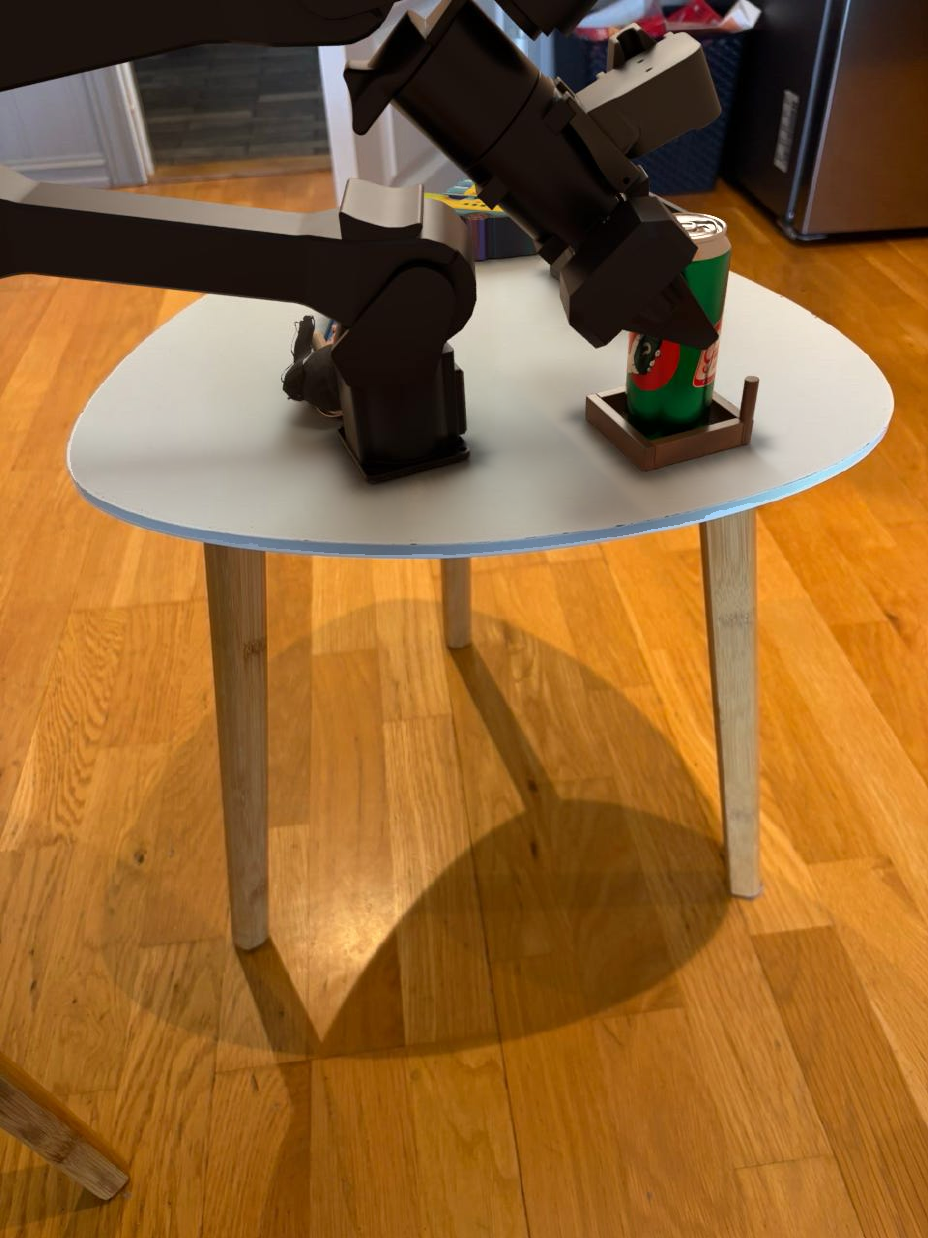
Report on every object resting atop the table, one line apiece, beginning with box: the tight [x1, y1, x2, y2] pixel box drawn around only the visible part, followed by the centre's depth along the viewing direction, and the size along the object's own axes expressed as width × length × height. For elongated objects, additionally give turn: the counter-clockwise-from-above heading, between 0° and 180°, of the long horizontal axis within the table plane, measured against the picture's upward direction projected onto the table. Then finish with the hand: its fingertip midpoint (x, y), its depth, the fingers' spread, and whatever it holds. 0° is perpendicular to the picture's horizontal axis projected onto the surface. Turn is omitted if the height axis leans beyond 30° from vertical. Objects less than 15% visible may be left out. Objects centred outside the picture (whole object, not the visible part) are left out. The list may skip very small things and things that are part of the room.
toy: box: [424, 176, 538, 261], centre depth 85 cm, size 16×3×15 cm
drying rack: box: [584, 375, 760, 472], centre depth 56 cm, size 7×7×4 cm
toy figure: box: [280, 314, 343, 418], centre depth 63 cm, size 7×6×15 cm
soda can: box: [623, 212, 733, 441], centre depth 53 cm, size 5×5×12 cm
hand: (700, 323), depth 53 cm, fingers closed on soda can, 5 cm apart
